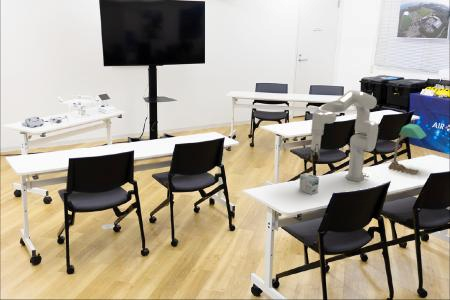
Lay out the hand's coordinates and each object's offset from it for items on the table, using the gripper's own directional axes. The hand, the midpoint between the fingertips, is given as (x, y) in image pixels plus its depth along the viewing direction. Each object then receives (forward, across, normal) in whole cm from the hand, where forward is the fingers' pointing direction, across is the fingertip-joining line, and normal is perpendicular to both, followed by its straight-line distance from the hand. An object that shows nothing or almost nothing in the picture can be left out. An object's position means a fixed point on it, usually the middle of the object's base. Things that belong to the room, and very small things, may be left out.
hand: (314, 159), depth 286 cm
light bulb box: (+22, 0, -2) cm, 22 cm away
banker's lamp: (+21, -56, +73) cm, 94 cm away
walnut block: (+1, 0, 0) cm, 1 cm away
